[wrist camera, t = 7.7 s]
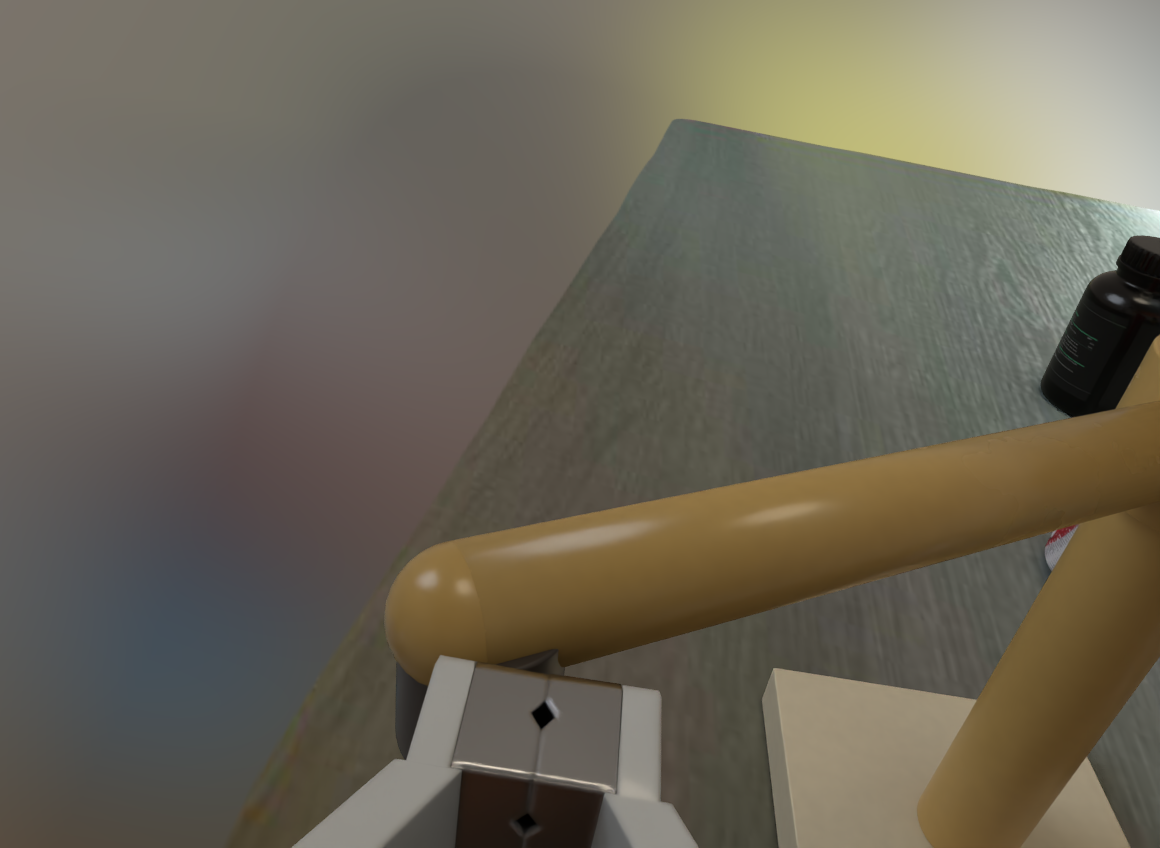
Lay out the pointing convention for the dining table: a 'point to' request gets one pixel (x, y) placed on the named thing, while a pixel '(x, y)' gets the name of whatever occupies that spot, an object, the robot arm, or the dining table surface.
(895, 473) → the spout
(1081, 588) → the square base plate
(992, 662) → the dining table surface
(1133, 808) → the dining table surface
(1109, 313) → the supplement bottle
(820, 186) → the dining table surface
